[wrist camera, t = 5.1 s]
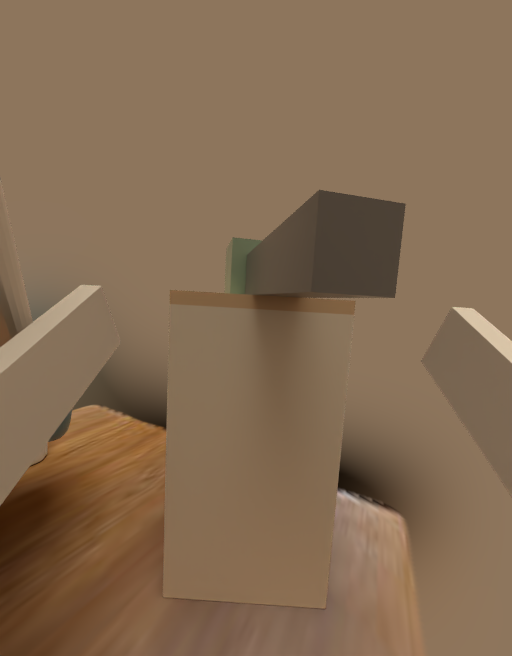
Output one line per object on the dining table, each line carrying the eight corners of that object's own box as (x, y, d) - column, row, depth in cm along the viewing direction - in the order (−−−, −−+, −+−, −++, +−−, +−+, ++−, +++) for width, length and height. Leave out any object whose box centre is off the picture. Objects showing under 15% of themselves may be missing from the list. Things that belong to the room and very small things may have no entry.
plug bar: (224, 294, 32) (226, 248, 31) (279, 298, 33) (282, 254, 33) (276, 289, 10) (285, 142, 10) (423, 299, 12) (438, 172, 11)
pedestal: (197, 492, 39) (204, 294, 36) (302, 499, 39) (318, 300, 36) (162, 597, 26) (169, 290, 22) (325, 608, 25) (355, 300, 22)
